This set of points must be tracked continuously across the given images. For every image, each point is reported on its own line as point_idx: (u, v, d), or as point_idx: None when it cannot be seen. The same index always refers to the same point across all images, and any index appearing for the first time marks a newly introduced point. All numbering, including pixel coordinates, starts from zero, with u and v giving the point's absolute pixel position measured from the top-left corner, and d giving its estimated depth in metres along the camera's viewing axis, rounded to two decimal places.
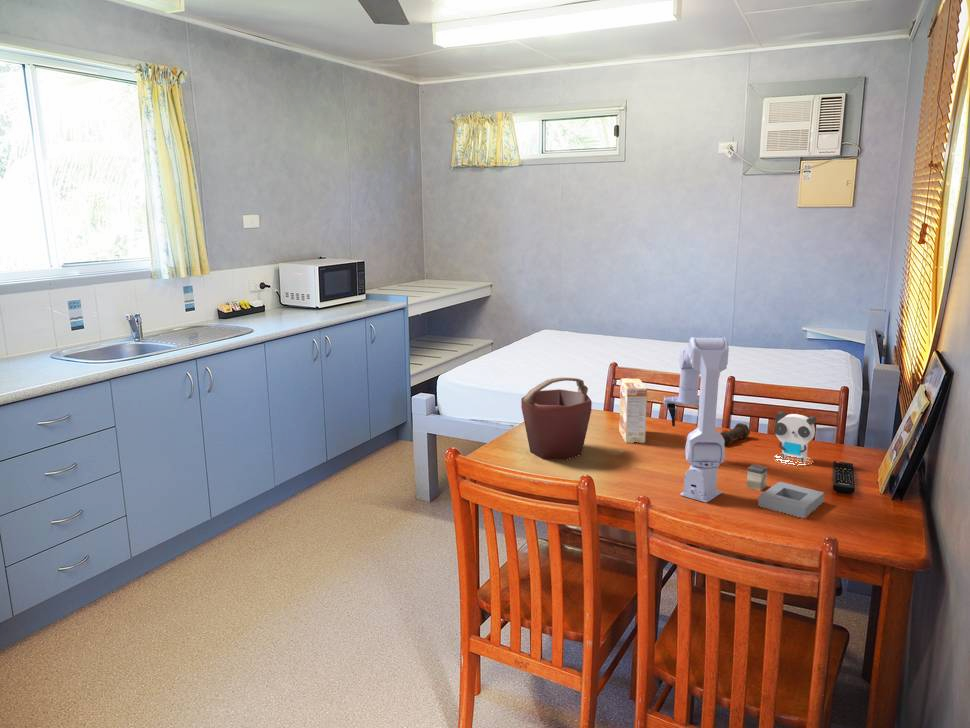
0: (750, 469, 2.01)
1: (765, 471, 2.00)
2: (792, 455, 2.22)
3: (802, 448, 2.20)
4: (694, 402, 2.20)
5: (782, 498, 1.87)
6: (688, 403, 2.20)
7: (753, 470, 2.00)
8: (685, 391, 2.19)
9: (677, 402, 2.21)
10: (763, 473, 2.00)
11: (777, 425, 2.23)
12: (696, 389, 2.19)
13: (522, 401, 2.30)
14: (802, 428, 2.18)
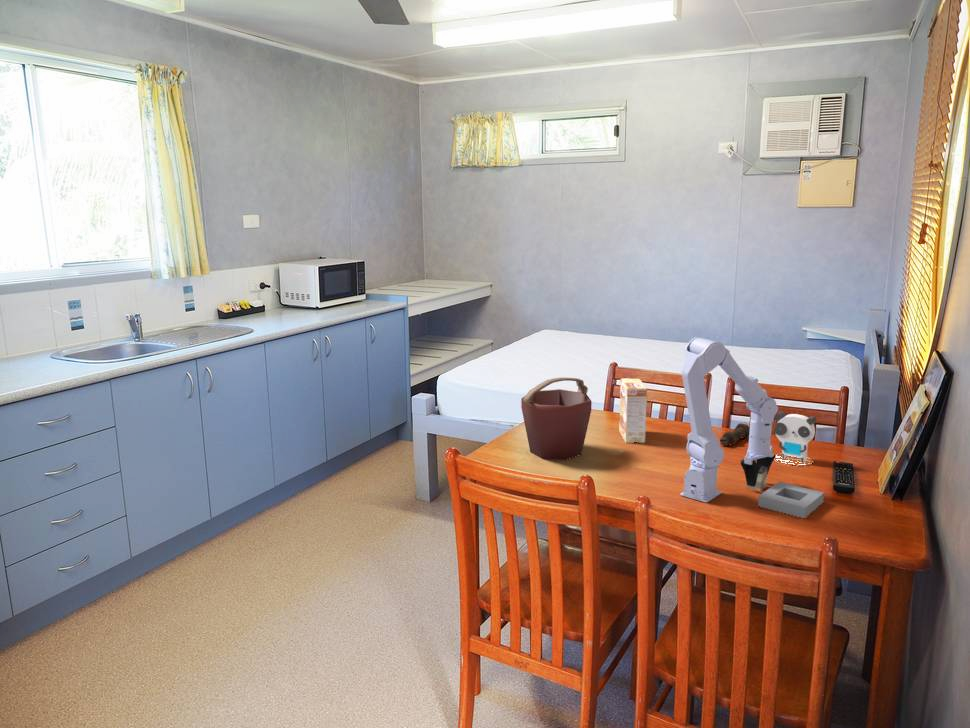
0: None
1: (765, 471, 2.00)
2: (792, 455, 2.22)
3: (802, 448, 2.20)
4: (748, 450, 2.00)
5: (782, 498, 1.87)
6: None
7: None
8: None
9: None
10: (763, 473, 2.00)
11: (777, 425, 2.23)
12: (750, 438, 1.99)
13: (522, 401, 2.30)
14: (802, 428, 2.18)
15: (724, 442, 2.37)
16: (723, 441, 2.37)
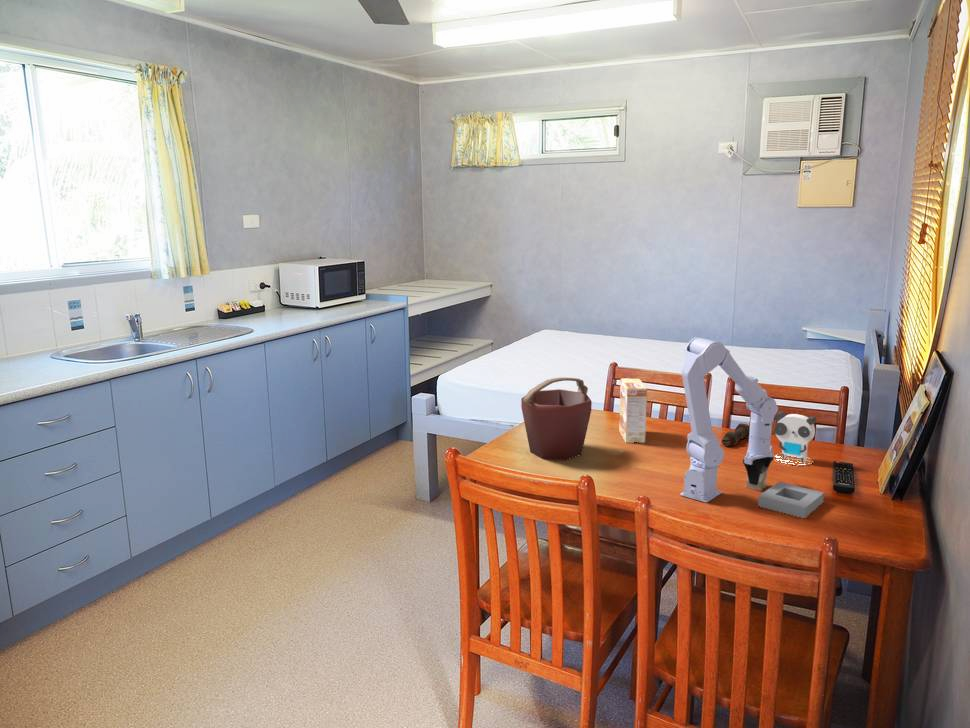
0: None
1: (765, 471, 2.00)
2: (792, 455, 2.22)
3: (802, 448, 2.20)
4: (748, 450, 2.00)
5: (782, 498, 1.87)
6: None
7: None
8: None
9: None
10: (763, 473, 2.00)
11: (777, 425, 2.23)
12: (750, 438, 1.99)
13: (522, 401, 2.30)
14: (802, 428, 2.18)
15: (726, 442, 2.37)
16: (725, 441, 2.37)
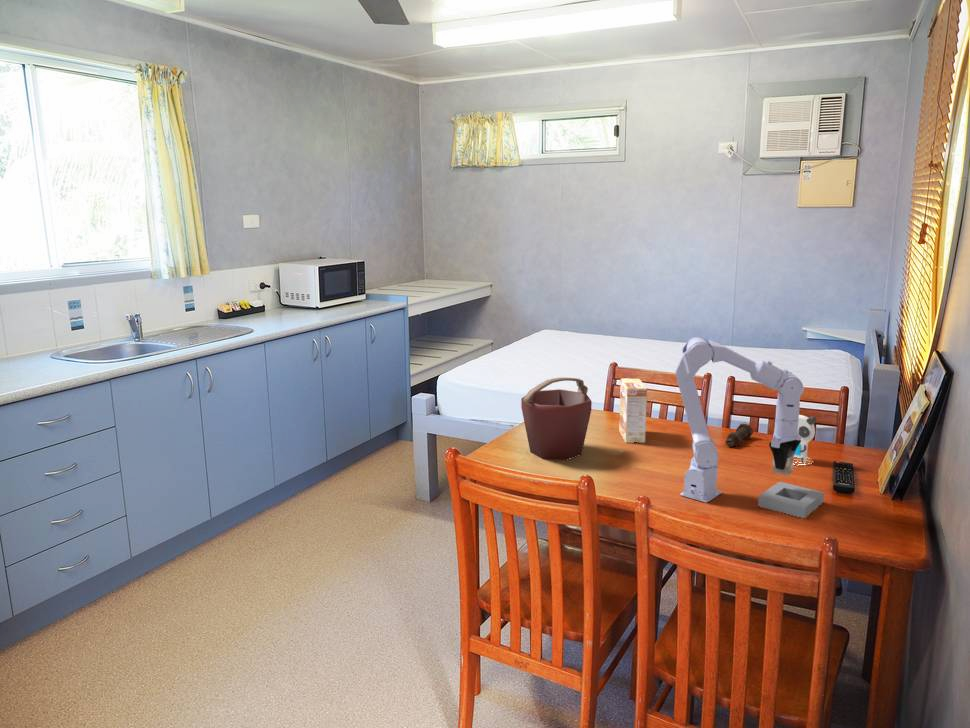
0: None
1: (792, 455, 1.90)
2: None
3: (802, 448, 2.20)
4: (774, 433, 1.90)
5: (782, 498, 1.87)
6: None
7: None
8: None
9: None
10: (790, 457, 1.89)
11: None
12: (777, 420, 1.88)
13: (522, 401, 2.30)
14: (802, 428, 2.18)
15: (730, 443, 2.36)
16: (729, 442, 2.36)
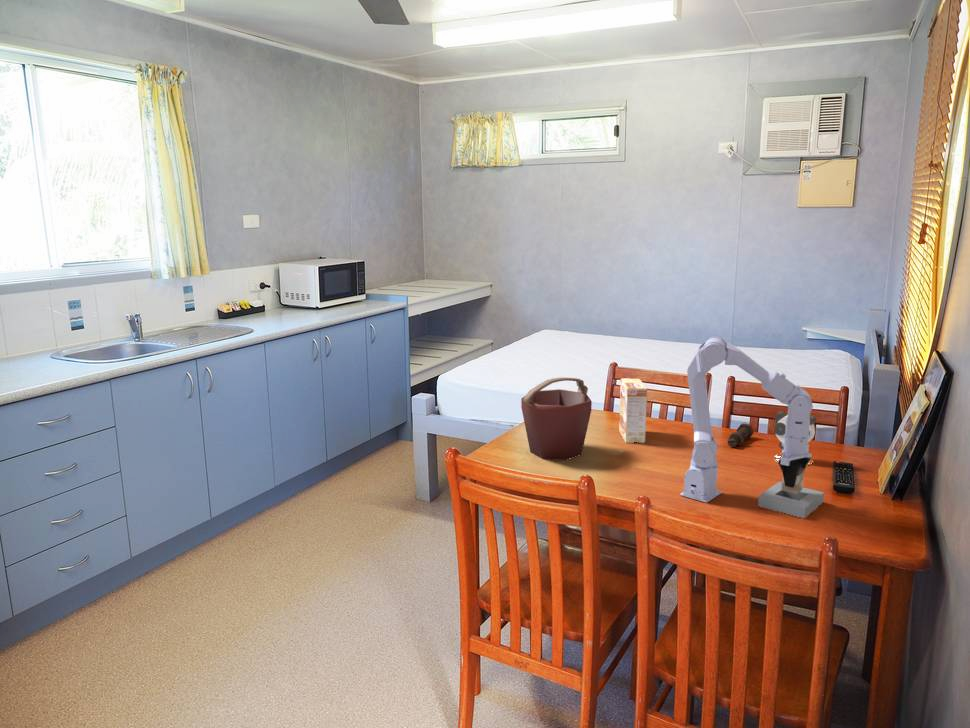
0: None
1: (802, 472, 1.87)
2: None
3: None
4: (783, 450, 1.87)
5: (782, 498, 1.87)
6: None
7: None
8: None
9: None
10: (800, 474, 1.86)
11: (777, 425, 2.23)
12: (786, 437, 1.86)
13: (522, 401, 2.30)
14: None
15: (732, 443, 2.36)
16: (731, 442, 2.36)
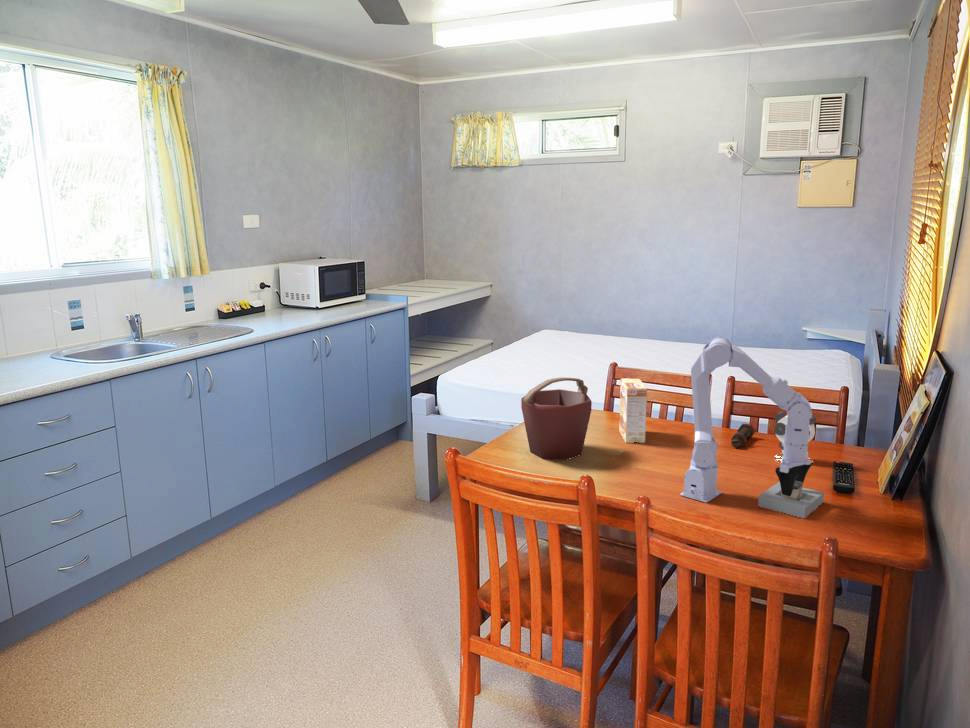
0: None
1: (800, 486, 1.88)
2: None
3: None
4: (783, 457, 1.88)
5: (782, 498, 1.87)
6: None
7: None
8: None
9: None
10: (799, 488, 1.87)
11: (777, 425, 2.23)
12: (786, 444, 1.86)
13: (522, 401, 2.30)
14: None
15: (736, 444, 2.35)
16: (735, 443, 2.35)
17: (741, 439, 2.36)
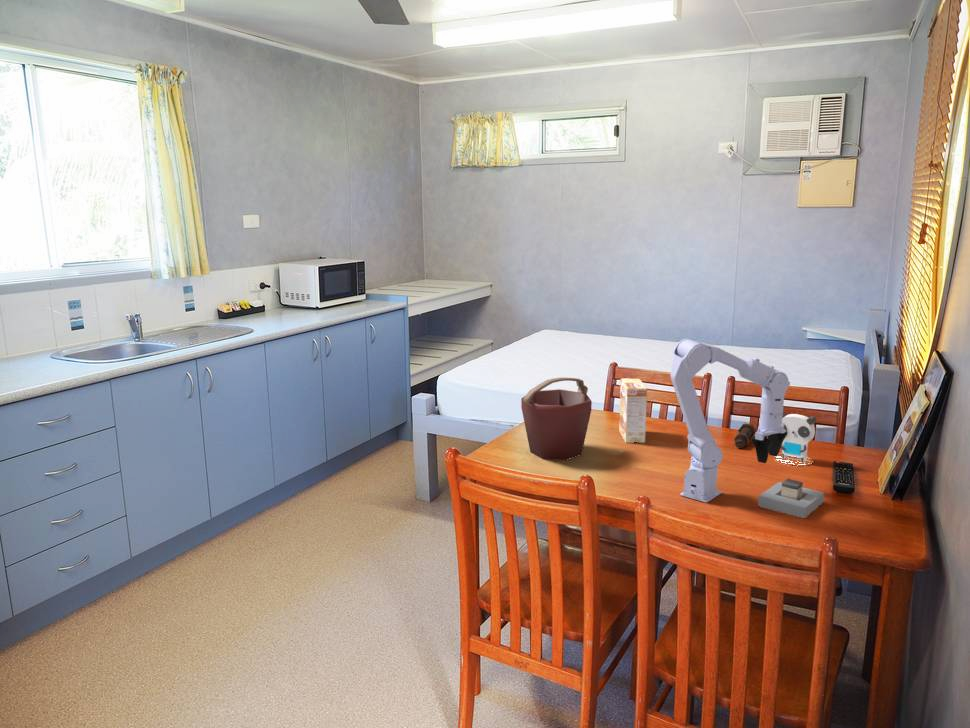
0: (784, 485, 1.88)
1: (800, 486, 1.88)
2: (792, 455, 2.22)
3: (802, 448, 2.20)
4: (759, 427, 1.97)
5: (782, 498, 1.87)
6: None
7: (788, 485, 1.88)
8: None
9: None
10: (799, 488, 1.87)
11: None
12: (762, 413, 1.95)
13: (522, 401, 2.30)
14: (802, 428, 2.18)
15: (740, 444, 2.35)
16: (739, 443, 2.35)
17: (744, 439, 2.36)
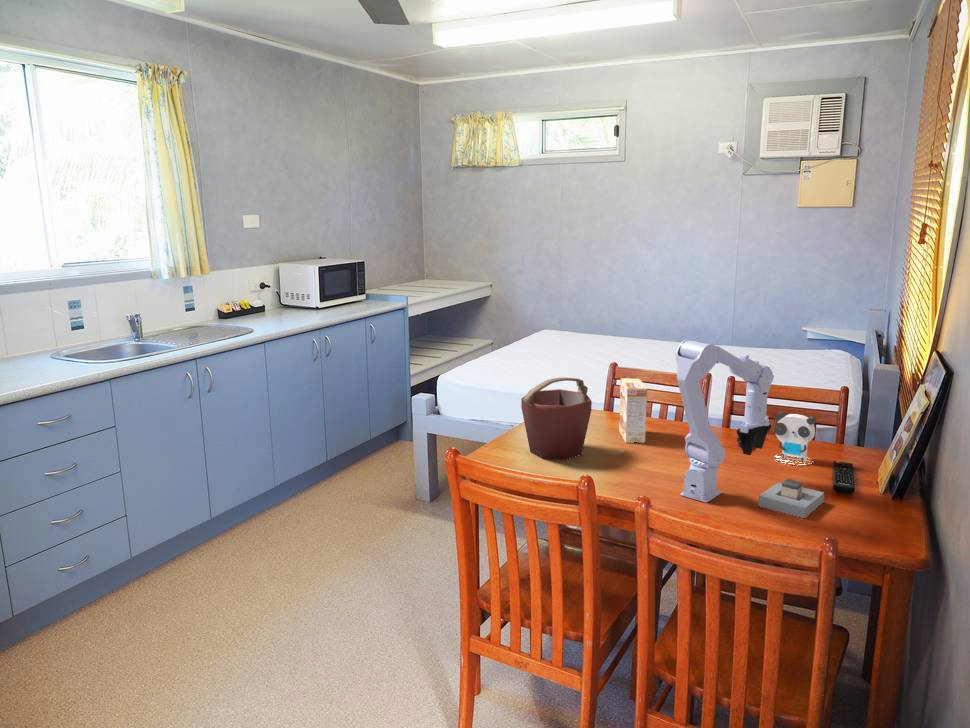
0: (784, 485, 1.88)
1: (800, 486, 1.88)
2: (792, 455, 2.22)
3: (802, 448, 2.20)
4: (744, 420, 2.03)
5: (782, 498, 1.87)
6: None
7: (788, 485, 1.88)
8: None
9: None
10: (799, 488, 1.87)
11: (777, 425, 2.23)
12: (746, 407, 2.01)
13: (522, 401, 2.30)
14: (802, 428, 2.18)
15: None
16: None
17: None
